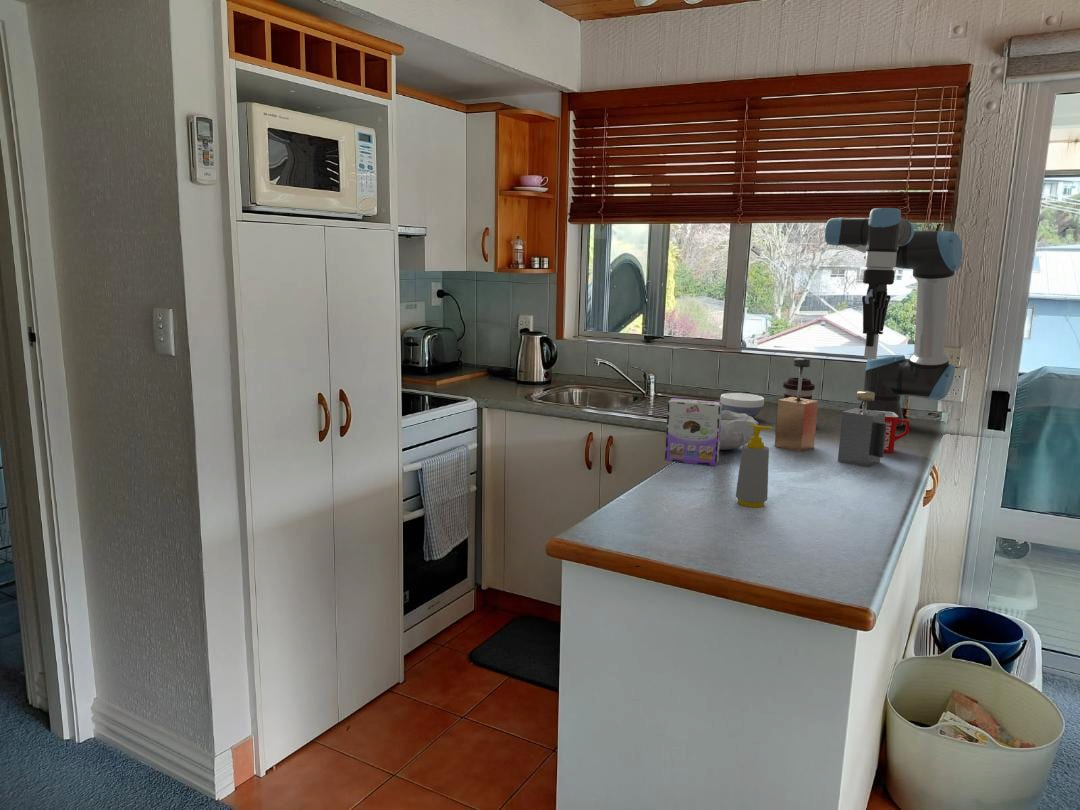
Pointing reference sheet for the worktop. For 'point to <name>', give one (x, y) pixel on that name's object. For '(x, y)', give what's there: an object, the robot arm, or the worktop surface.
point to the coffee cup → (792, 388)
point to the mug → (892, 430)
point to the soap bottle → (753, 471)
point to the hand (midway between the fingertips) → (870, 358)
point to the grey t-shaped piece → (801, 372)
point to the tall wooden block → (796, 423)
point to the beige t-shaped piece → (865, 398)
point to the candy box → (693, 431)
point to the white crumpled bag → (735, 430)
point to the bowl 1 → (742, 403)
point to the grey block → (862, 437)
